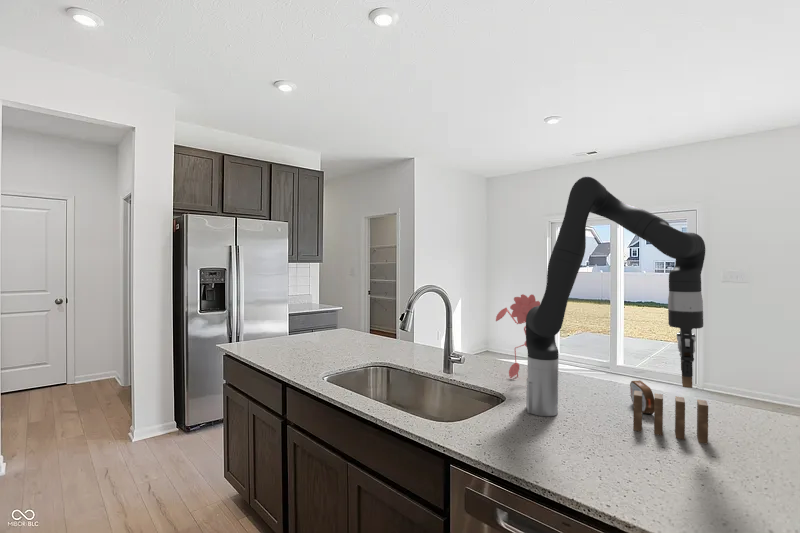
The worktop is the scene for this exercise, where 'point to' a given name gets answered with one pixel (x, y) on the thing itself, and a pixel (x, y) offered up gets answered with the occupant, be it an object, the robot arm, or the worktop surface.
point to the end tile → (687, 380)
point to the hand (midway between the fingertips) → (686, 373)
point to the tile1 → (637, 411)
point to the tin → (643, 396)
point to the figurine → (519, 319)
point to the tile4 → (702, 421)
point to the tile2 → (658, 414)
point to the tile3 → (680, 417)
